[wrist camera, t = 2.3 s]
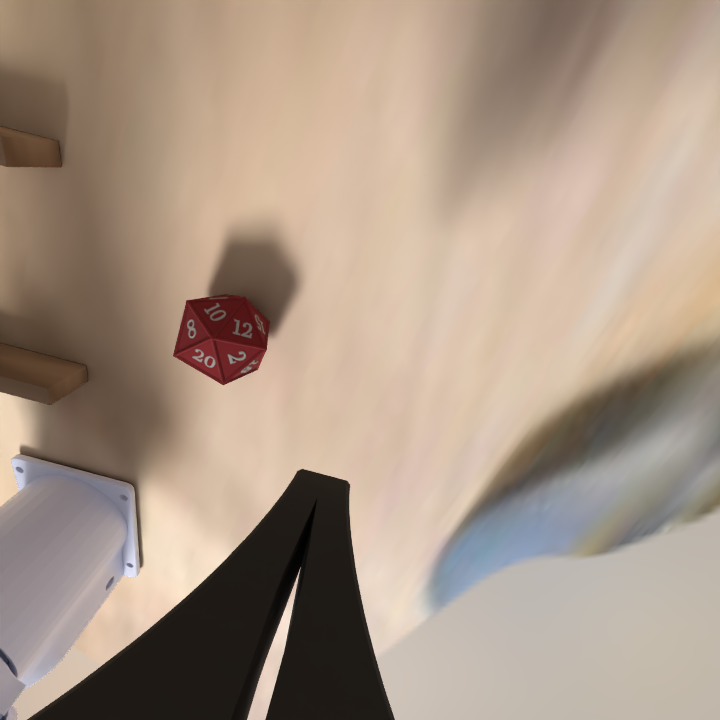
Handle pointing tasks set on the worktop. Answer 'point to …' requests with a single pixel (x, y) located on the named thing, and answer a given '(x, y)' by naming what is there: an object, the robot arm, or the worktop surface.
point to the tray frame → (15, 365)
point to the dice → (222, 337)
